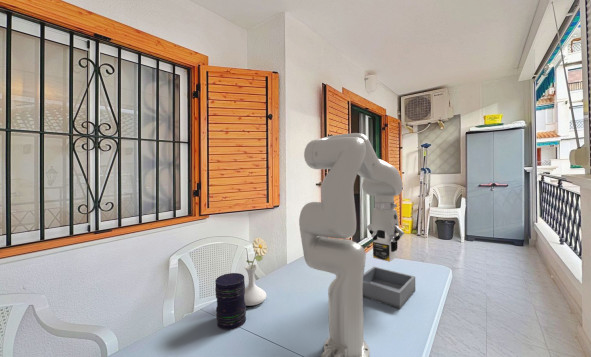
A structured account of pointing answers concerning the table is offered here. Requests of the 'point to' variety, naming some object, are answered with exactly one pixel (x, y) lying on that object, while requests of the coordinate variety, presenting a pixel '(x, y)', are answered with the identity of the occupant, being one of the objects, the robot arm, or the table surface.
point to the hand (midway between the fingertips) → (384, 248)
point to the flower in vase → (253, 292)
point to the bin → (388, 286)
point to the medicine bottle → (383, 247)
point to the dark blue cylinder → (230, 301)
